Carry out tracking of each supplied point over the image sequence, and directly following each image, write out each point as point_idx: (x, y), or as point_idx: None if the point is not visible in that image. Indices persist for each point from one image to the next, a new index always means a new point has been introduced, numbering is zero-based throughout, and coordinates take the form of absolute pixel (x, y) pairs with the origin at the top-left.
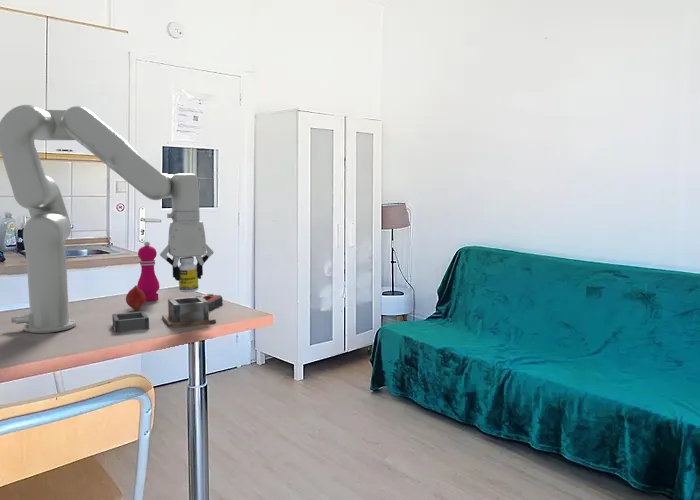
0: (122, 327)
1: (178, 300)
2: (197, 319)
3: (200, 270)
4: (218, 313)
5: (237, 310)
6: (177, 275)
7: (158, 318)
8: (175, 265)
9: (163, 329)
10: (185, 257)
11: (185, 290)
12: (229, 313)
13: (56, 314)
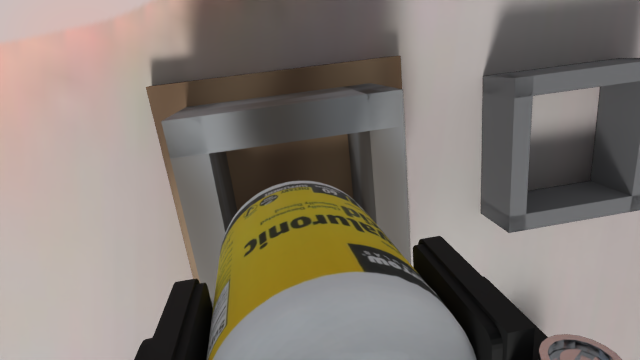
0: (607, 62)
1: None
2: (250, 99)
3: (155, 344)
4: (133, 285)
5: (27, 326)
6: (457, 259)
7: None
8: (565, 356)
9: (424, 35)
10: None
11: (335, 190)
12: (72, 274)
13: None
